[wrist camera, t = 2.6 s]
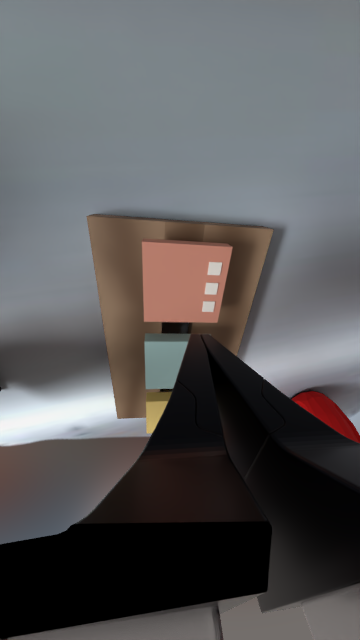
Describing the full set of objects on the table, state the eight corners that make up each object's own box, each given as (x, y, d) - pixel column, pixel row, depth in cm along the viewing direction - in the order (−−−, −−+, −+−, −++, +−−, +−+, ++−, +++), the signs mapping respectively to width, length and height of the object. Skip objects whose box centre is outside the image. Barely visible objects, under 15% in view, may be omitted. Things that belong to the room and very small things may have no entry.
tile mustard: (148, 410, 27) (146, 434, 24) (147, 379, 23) (145, 402, 21) (192, 409, 27) (195, 431, 25) (197, 378, 24) (201, 400, 21)
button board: (120, 405, 28) (117, 418, 26) (94, 214, 16) (86, 216, 14) (216, 402, 30) (219, 414, 28) (262, 226, 17) (273, 229, 15)
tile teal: (147, 367, 22) (145, 389, 20) (146, 322, 19) (144, 342, 17) (199, 366, 23) (204, 388, 20) (206, 323, 20) (213, 342, 17)
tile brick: (146, 304, 18) (143, 322, 16) (144, 234, 15) (141, 241, 13) (209, 305, 19) (217, 323, 16) (220, 239, 16) (233, 247, 13)
